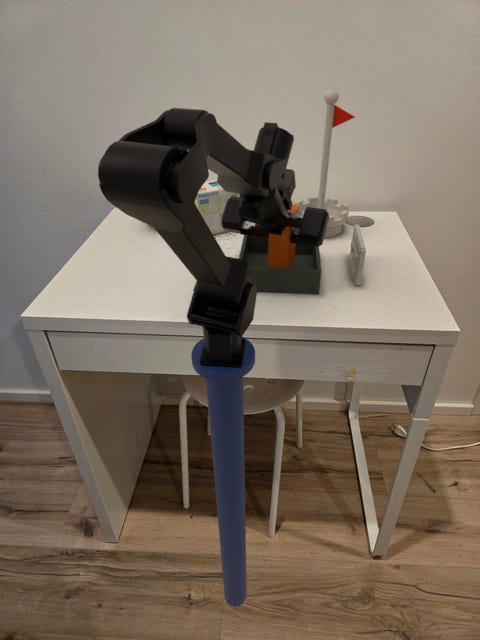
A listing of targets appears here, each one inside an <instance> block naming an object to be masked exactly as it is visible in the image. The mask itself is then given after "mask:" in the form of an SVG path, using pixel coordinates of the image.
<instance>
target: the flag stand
mask: <svg viewBox="0 0 480 640" xmlns="http://www.w3.org/2000/svg"><path fill="white" fill-rule="evenodd" d="M339 98H340V94H339V92H338V90H337V89H336V88H329V89H327V90H326V92H325V93H324V96H323V99H324V102H325V103H326V113H325V123H324V134H323V144H322V156H321V164H320V177H319V187H318V189H319V190H318V196H307V201H304V200H303V199H299V198H298V199H297V200H296V201H295V202H293V205H296V206H300V207H299V211H300V210H302V211H305V209H306V207H313V208H320V209H326V210H327V212H328V213H329V221H328V225H327V228H326V232H325V236H324V239H325V238H332V237H335V236H338V235H339V234H340V233H341V232H342V231H343V225H344V224H346V222H347V221H348V219H349V209H350V206H349V204H348V203H346V202H341V203H340V204H339V203H338V201H339V198H335V197H330V196H328V197H327V198H326V192H327V182H328V172H329V162H330V152H331V145H332V144H331V143H332V133H333V128H335V127H338V126H340V125H343V124H344V123H346V122H349V121H350V120H353V119H354V118H356V116H354V115H353V114H352V113H350V112H348V111H346V110H344V109H342V108H341V107H339V106H338V105H336V104H337V102H338V101H339Z"/></svg>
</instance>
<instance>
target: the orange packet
mask: <svg viewBox="0 0 480 640" xmlns="http://www.w3.org/2000/svg"><path fill="white" fill-rule="evenodd" d="M299 207H300V206H296V205H294V204H292V208H291V210H288V212H290V213H297V212H298V211H299ZM294 219H295V218H294ZM296 219H297V218H296ZM292 234H293V227H288V226H286V230H285V231H284V232H283V231H282V235H275V234H269V246H268V262H267V268H289V269H292V268H293V266H294V256H295V246H296V244H295V243H290V241H291V238H292Z"/></svg>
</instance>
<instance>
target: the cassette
mask: <svg viewBox="0 0 480 640" xmlns="http://www.w3.org/2000/svg"><path fill="white" fill-rule="evenodd" d="M366 254H367V248H366V246H365V240H364V238H363V234H362V230H361V227H360V223H354V224H353V230H352V237H351V242H350V250H349V259H348V264H349V269H350V270H349V271H350V275H351V280H352V282H354V285H355V286H361V282H362V276H363V271H364V266H365V259H366Z"/></svg>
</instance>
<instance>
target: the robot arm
mask: <svg viewBox="0 0 480 640" xmlns="http://www.w3.org/2000/svg"><path fill="white" fill-rule="evenodd" d="M294 136H295V135H293V134H292V133H290V132H289V131H288V130H286V129H284V128H282V127H280V126H279V125H278V123H277V122H269V121H266V122H264V124H263V126H262V127H261V128H260V129H259V130H258V133H257V137H256V141H255V144H254V148H253V150H252V149H249V148H246V147H245V146H244V145H243V144H242V143H241V142H240V141H239V140H237V139H236V138H235V137H234V136H233V135H231V133H230V132H228V131H227V130H226V129H225V128H224V127H222V126H221V125H220V123H218V121H217V118H216V117H215V115H214V113H212V112H211V113H210V112H209V111H207V110H205V109H194V108H182V107H181V108H180V107H172V108H169V109H167V110H164V111H163V112H162V113H161V114H160V115H159V116H158V117H157V118H156V119H155V120H153V121H151V122H149V123H147V124H144V125H142V126H139V127H137V128H135V129H133V130H131V131H129V132H127V133H125V134H123V136H121V138H119V140H117V141H114V142H112V143H111V144H110V145H109V146H108V147H107V149H106V150H105V152H104V154H103V156H102V157H101V158H100V160H99V163H98V167H97V178H98V181H99V184H98V185H99V188H100V192H101V194H102V195H103V196H104V198H105V200H106V201H108V202H109V204H111V205H112V206H113V207H115V208H117V209H118V210H119V211H121V212H122V213H124V214H125V215H127V216H129V217H131V218H132V219H136V220H137V221H140V222H141V223H144V224H145V225H147V226H150V227H152V228H153V229H154V230H155V231H156V232H157V233H158V234H159V236H160V237H161V238H162V240H163V241H164V242H165V243H166V245H168V247H169V248H170V249H171V251H172V252H173V253H174V254H175V256H176V257H177V258H178V259H179V261H180V262H181V263H182V264H183V266H184V267H185V269H187V270H188V271H189V273H190V275H191V276H192V277H193V278H194V279H195V280H196V281H195V283H194V286H193V289H192V291H193V293H192V297H191V299H190V303H189V307H188V310H187V313H186V319H187V321H188V323H189V325H196V326H199V327H202V332H203V338H204V347H203V350H202V354H201V358H200V365H201V366H216V367H234V368H240V367H242V364H243V357H244V350H245V339H241V337H244V336H243V335H245V333H246V331H247V330H248V328H249V327H250V325H251V324H252V323H253V321H254V316H255V311H256V302H257V295H258V292H257V286H256V285H255V282H254V279H253V277H252V275H253V272H252V271H251V270H250V268H249V264H248V263H247V262H246V261H245V260H243V259H239V258H237V257H232V256H226V254H225V252H224V251H223V249H222V247H221V246H220V244H219V242H218V241H217V239H216V237H215V235H214V234H212V232H211V230H210V229H209V227H208V225H207V224H206V222H205V220H204V219H203V217H202V215H201V213H200V212H199V210H198V208H197V207H196V204H195V200H196V197H197V194H198V192H199V190H200V188H201V187H202V186H203V184H204V183H205V182H207V180H208V179H209V177H210V173H209V172H213V174H215V175H217V178H216V180H217V182H218V184H219V185H220V186H221V187H222V188H223V189H224V190H225V191H226V192H231V193H238V194H239V197H234V196H231V197H230V198H229V199H228V200H227V202H226V205H225V209H224V212H223V216H222V219H221V225H222V227H223V229H224V230H225V231H226V232H227V233H233V234H240V235H242V236H244V235H247V236H254V237H269V234H275V235H282V231H283V232H284V231H285V230H286V226H288V227H293V234H292V238H291V241H290V243H295V244H300V245H309V246H315V247H319V248H320V247H321V246H322V245H323V244H324V240H325V238H324V236H325V232H326V228H327V225H328V221H329V213H328V212H327V210H326V209H320V208H313V207H306V209H305V211H302V210H300V211H298V212H297V213H290V212H288V210H291V208H292V205H294V202H293V200H292V197H293V194H294V191H295V189H296V187H297V185H296V174H295V173H296V172H295V170H294V169H292V168H290V169H289V168H287V167H288V164H289V160H290V156H291V153H292V149H293V146H294V142H295V137H294ZM294 218H295V219H294ZM296 218H297V219H296ZM226 232H225V233H226ZM242 341H243V342H242ZM202 362H204V363H202ZM238 364H240V365H238Z"/></svg>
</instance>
